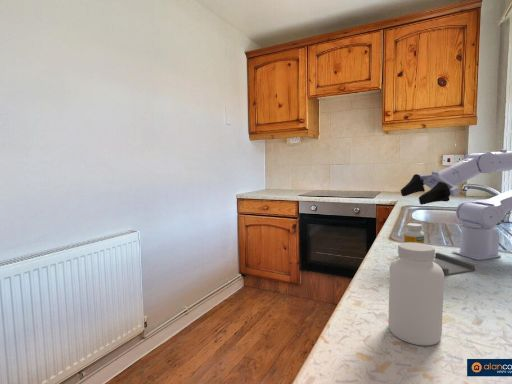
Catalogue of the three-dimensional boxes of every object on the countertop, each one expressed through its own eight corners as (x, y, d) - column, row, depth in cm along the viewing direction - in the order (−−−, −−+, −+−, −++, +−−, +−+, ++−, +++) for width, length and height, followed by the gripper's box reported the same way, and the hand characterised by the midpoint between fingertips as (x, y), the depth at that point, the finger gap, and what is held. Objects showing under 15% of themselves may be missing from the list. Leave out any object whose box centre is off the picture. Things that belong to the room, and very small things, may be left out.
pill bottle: (379, 321, 54) (381, 240, 53) (421, 319, 55) (424, 239, 53) (404, 349, 46) (407, 254, 45) (453, 345, 47) (458, 252, 45)
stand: (437, 257, 88) (437, 252, 88) (474, 270, 78) (475, 264, 78) (410, 261, 85) (410, 256, 85) (445, 275, 75) (445, 269, 75)
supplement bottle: (409, 251, 94) (410, 221, 93) (427, 256, 90) (428, 224, 89) (399, 255, 91) (400, 224, 90) (417, 259, 87) (418, 227, 86)
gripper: (430, 159, 92) (391, 178, 91) (471, 169, 78) (426, 192, 78) (434, 179, 94) (397, 198, 94) (475, 192, 81) (431, 214, 80)
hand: (410, 197), depth 86 cm, fingers open, 7 cm apart
